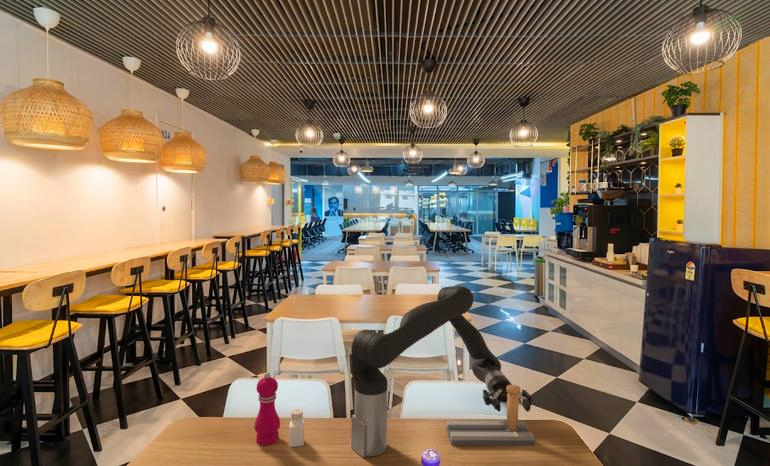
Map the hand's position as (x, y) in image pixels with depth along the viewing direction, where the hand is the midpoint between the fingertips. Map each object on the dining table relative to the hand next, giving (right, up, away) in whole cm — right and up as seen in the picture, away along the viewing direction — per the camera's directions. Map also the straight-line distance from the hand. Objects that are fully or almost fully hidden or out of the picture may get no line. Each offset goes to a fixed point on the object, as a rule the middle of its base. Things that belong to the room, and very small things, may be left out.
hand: (513, 408), depth 128 cm
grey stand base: (-7, -9, +1) cm, 11 cm away
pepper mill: (-73, -8, -2) cm, 73 cm away
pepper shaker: (-64, -9, -4) cm, 64 cm away
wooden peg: (0, -7, +1) cm, 8 cm away
